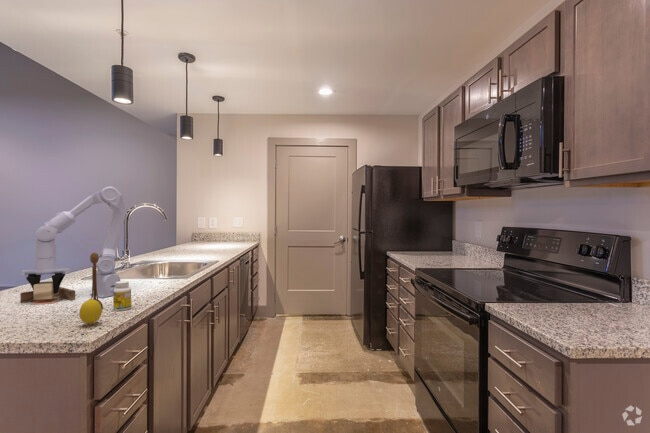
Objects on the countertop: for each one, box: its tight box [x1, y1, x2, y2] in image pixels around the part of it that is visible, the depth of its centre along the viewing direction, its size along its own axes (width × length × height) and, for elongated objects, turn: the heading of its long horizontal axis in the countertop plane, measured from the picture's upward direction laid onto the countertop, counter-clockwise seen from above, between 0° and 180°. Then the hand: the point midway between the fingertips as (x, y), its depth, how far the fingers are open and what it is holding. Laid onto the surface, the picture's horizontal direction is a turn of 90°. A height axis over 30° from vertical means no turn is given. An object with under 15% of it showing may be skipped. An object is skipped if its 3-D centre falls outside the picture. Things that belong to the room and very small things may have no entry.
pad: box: [29, 297, 63, 306], centre depth 126 cm, size 7×7×1 cm
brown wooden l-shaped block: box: [19, 286, 76, 304], centre depth 126 cm, size 13×12×4 cm
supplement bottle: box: [112, 280, 132, 312], centre depth 117 cm, size 5×5×10 cm
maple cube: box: [34, 280, 59, 301], centre depth 126 cm, size 6×6×6 cm
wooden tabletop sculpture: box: [89, 252, 104, 310], centre depth 117 cm, size 6×5×20 cm
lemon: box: [79, 298, 103, 326], centre depth 101 cm, size 6×6×8 cm
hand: (46, 293), depth 126 cm, fingers closed on maple cube, 5 cm apart
